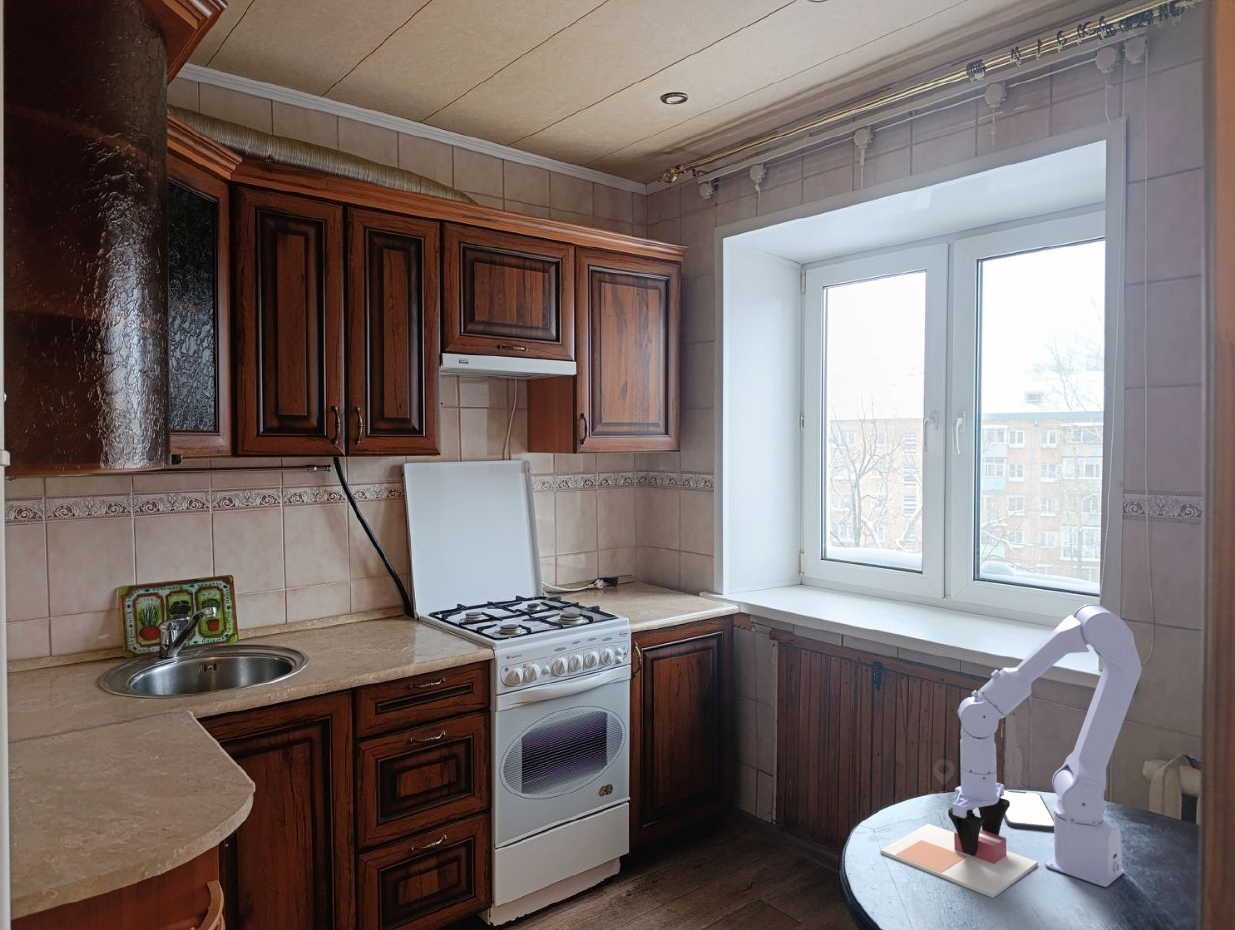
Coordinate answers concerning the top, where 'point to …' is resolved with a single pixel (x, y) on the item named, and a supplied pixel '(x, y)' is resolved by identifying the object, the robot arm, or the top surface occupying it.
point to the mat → (957, 861)
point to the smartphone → (1027, 811)
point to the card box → (986, 846)
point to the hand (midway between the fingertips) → (980, 846)
